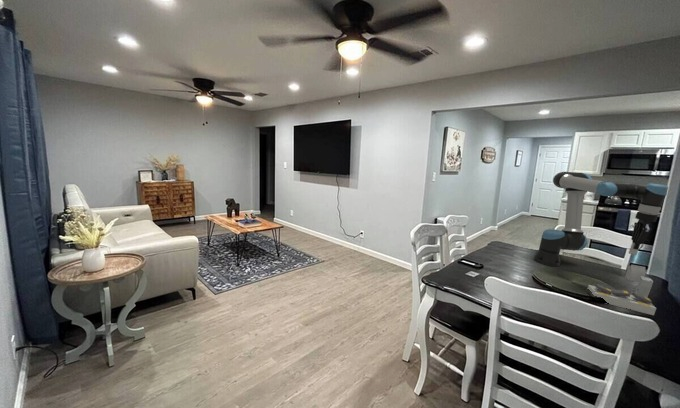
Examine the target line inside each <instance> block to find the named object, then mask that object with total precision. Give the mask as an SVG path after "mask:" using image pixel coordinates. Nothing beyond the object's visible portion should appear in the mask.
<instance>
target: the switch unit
mask: <svg viewBox="0 0 680 408" xmlns="http://www.w3.org/2000/svg"><path fill="white" fill-rule="evenodd" d="M587 289H589V290H590V291H591V292H592V294H593V295H594V296H597V297H601V298H603V299H604V300H605V301H606V302H607V303H609V304H608V305H612V306H616V307H619V308H623V309H626V308H627V310H630V309H631V311H635V312H637V313H638V312H639V313H643V314H646V315H651V316H655V313H656V310H657V307H655V305H654V304H653V303H651V304H649V303H646V302H644V301H642V300H639V299H637V298H635V297H634V296H633V295H632V294H630V297H627V296H618V295H614V294H613V293H611V295H610V294H608V293H606V292H604V291H601V290H599V289H597V288H596V287H595V285H591V284H588V286H587ZM607 303H606V304H607Z"/></svg>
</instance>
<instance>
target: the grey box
mask: <svg viewBox="0 0 680 408" xmlns="http://www.w3.org/2000/svg"><path fill="white" fill-rule="evenodd" d="M640 276H643V277H646V266H641V265H636V264H630V266H629V267H628V268H627V271H626V274H625V276H624V279H626V280H627V281H631V282H635V283H638V281H639V279H640Z"/></svg>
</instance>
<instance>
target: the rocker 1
mask: <svg viewBox="0 0 680 408" xmlns="http://www.w3.org/2000/svg"><path fill="white" fill-rule="evenodd" d="M594 286H595V287H596V288H597V289H599V290H601V291H604V292H606V293H608V294H610V295H611V293H612V292H611V289H610V288H608V287H605V286H602V285H601V284H598V283H595V284H594Z"/></svg>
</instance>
